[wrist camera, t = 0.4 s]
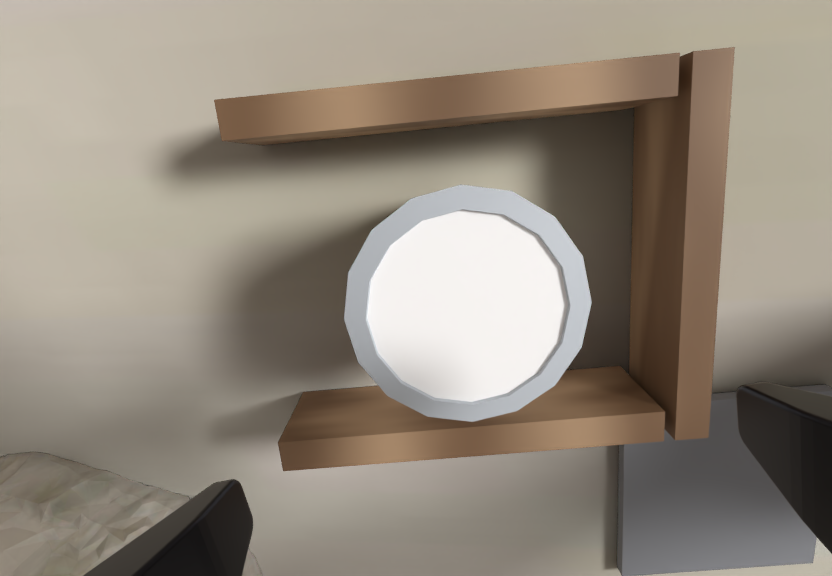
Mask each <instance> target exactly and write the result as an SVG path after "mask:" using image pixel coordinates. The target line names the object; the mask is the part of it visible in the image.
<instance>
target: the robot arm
mask: <svg viewBox="0 0 832 576" xmlns="http://www.w3.org/2000/svg"><path fill="white" fill-rule="evenodd" d="M736 401H737V418H738V430H739V434H740V437H741V439H742V441H743V443H744V444H745V446H746V447H747V448H748V450H749V451H750V452H751V454H752V455H753V456H754V458H755V459H756V460H757V462H758V463H759V464H760V466H761V467H762V468H763V470H764V471H765V472H766V474H767V475H768V476H769V478H770V479H771V480H772V482H773V483H774V484H775V486H776V487H777V488H778V490H779V491H780V492H781V494H782V495H783V496H784V498H785V499H786V500H787V502H788V503H789V504H790V506H791V507H792V508H793V509H794V511H795V512H796V513H797V515H798V516H799V517H800V518H801V520H802V521H803V522H804V523H805V524H806V525H807V527H808V528H809V529H810V530H811V531H812V532H813V533H814V535H815V536H816V537H817V538H818V539H819V540H820V541H821V542H822V543H823V544H824V546H825V547H826V548H827V549H828V550H829V551H830V552H831V553H832V396H827V395H823V394H818V393H814V392H809V391H805V390H800V389H796V388H791V387H787V386H782V385H778V384H773V383H769V382H758V383H752V384H747V385H742V386H740V387H739V388H738V389H737V393H736ZM252 530H253V518H252V514H251V511H250V508H249V505H248V503H247V500H246V497H245V494H244V491H243V489H242V486H241V484H240V483H239V481H237V480H235V479H231V480H226V481H221V482H216V483H214V484H212V485H211V486H209V487H208V488H206V489H205V490H203V491H202V492H201V493H199V494H198V495H196V496H195V497H194V498H192V499H191V500H189V501H188V502H186V503H185V504H184V505H182V506H181V507H179V508H178V509H176V510H175V511H174V512H172V513H171V514H169V515H168V516H167V517H165V518H164V519H162V520H161V521H159V522H158V523H157V524H155V525H154V526H152V527H151V528H150V529H148V530H147V531H145V532H144V533H142V534H141V535H140V536H138V537H137V538H135V539H134V540H133V541H131V542H130V543H128V544H127V545H125V546H124V547H123V548H121V549H120V550H118V551H117V552H116V553H114V554H113V555H111V556H110V557H108V558H107V559H106V560H104V561H103V562H101V563H100V564H99V565H97V566H96V567H94V568H93V569H91V570H90V571H89V572H87V573H86V574H84V575H83V576H242V574H243V570H244V565H245V561H246V557H247V552H248V548H249V544H250V539H251V535H252Z"/></svg>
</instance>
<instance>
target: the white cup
mask: <svg viewBox="0 0 832 576" xmlns="http://www.w3.org/2000/svg"><path fill="white" fill-rule="evenodd" d="M591 304H592V301H591V296H590V291H589V285H588V280H587V275H586V270H585V265H584V259H583V256H582V254H581V253H580V251H579V250H578V249H577V247H576V246H575V244H574V243H573V241H572V240H571V239H570V237H569V236H568V234H567V233H566V232H565V230H564V229H563V227H562V226H561V224H560V223H559V222H558V220H557V219H556V217H555V216H553V215H551V214H550V213H548V212H546V211H545V210H543V209H541V208H540V207H538V206H536V205H535V204H533V203H531V202H529V201H528V200H526V199H524V198H523V197H521V196H519V195H518V194H516V193H514V192H513V191H507V190H499V189H492V188H484V187H476V186H468V185H458V186H454V187H451V188H447V189H444V190H440V191H436V192H433V193H429V194H426V195H422V196H418V197H415V198H411V199H410V200H409V201H407V202H406V203H405V204H404V205H402V206H401V207H400V208H399V209H397V210H396V211H395V212H394V213H392V214H391V215H390V216H389V217H387V218H386V219H385V220H383V221H382V222H381V223H380V224H378V225H377V226H376V227H375V228H373V229H372V230H371V232H370V234H369V236H368V237H367V239H366V241H365V243H364V245H363V247H362V248H361V250H360V252H359V254H358V256H357V258H356V259H355V261H354V263H353V265H352V267H351V269H350V270H349V272H348V281H347V292H346V303H345V314H344V321H345V324H346V327H347V330H348V333H349V336H350V339H351V342H352V345H353V348H354V351H355V354H356V357H357V360H358V363H359V364H360V365H361V366H362V367H363V368H364V370H365V371H366V372H367V373H368V374H369V375H370V376H371V378H372V379H373V380H374V381H375V382H376V383H377V385H378V386H379V387H380V388H381V389H382V390H383V391H384V393H385V394H386V395H387V396H388V397H390V398H392V399H394V400H396V401H398V402H400V403H402V404H404V405H406V406H408V407H410V408H412V409H414V410H415V411H417V412H419V413H421V414H423V415H425V416H427V417H435V418H443V419H452V420H461V421H469V422H474V421H478V420H482V419H486V418H490V417H495V416H499V415H503V414H507V413H511V412H515V411H518V410H519V409H521V408H522V407H524V406H525V405H527V404H528V403H530V402H531V401H533V400H534V399H536V398H537V397H539V396H540V395H542V394H543V393H545V392H546V391H548V390H549V389H551V388H552V387H554V386H555V385H556V383H557V382H558V381H559V379H560V378H561V376H562V375H563V373H564V372H565V371H566V369H567V368H568V366H569V365H570V363H571V362H572V361H573V359H574V358H575V356H576V355H577V353H578V352H579V351H580V349H581V348H582V344H583V339H584V335H585V330H586V326H587V321H588V317H589V313H590V308H591Z"/></svg>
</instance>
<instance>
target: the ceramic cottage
mask: <svg viewBox="0 0 832 576" xmlns="http://www.w3.org/2000/svg"><path fill="white" fill-rule="evenodd" d="M189 500H190V499H189V497H188V496H185V495H181V494H177V493H172V492H170V491H167V490H164V489H161V488H157V487H154V486H146V485H143V483H141V482H135V481H132V480H129V479H126V478H124V477H122V476H120V475H117V474H114V473H112V472H109V471H106V470H99V469H94V468H91V467H89V466H86V465H83V464H80V463H78V462H74V461H70V460H66V459H62V458H59V457H56V456H53V455H50V454H47V453H39V452H28V453H20V454H7V455H6V456H5V457H4V456H2V457H0V576H83V575H84V574H86V573H87V572H89V571H90V570H91V569H93V568H94V567H96V566H97V565H99V564H100V563H101V562H103V561H104V560H106V559H107V558H108V557H110V556H111V555H113V554H114V553H116V552H117V551H118V550H120V549H121V548H123V547H124V546H125V545H127V544H128V543H130V542H131V541H133V540H134V539H135V538H137V537H138V536H140V535H141V534H142V533H144V532H145V531H147V530H148V529H150V528H151V527H152V526H154V525H155V524H157V523H158V522H159V521H161V520H162V519H164V518H165V517H167V516H168V515H169V514H171V513H172V512H174V511H175V510H176V509H178V508H179V507H181V506H182V505H184V504H185V503H186V502H188V501H189ZM242 576H262V573H261V571H260V568H259V565H258V563H257V561H256V558H255V556H254V555H253V553H252V552H251V551H250V549H249V548H248V552H247V557H246V561H245V565H244V570H243V574H242Z"/></svg>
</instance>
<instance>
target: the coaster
mask: <svg viewBox="0 0 832 576" xmlns="http://www.w3.org/2000/svg"><path fill="white" fill-rule="evenodd" d="M791 388H796V389H800V390H805V391H809V392H814V393H818V394H823V395H827V396H832V388H831V387H829V386H827V385H826V384H824V385H811V386H799V387H791ZM736 393H737V392H725V393H712V394H711V408H710V423H709V438H700V439H687V440H674V439H673V438H672V437H671V435H670V434H669V433H668V432H667V431H666V430H665V429H664V441H661V442H648V443H636V444H623V445H619V471H618V541H617V567H618V569H619V571H620V573H621V575H622V576H635V575H649V574H664V573H678V572H692V571H706V570H720V569H734V568H749V567H763V566H777V565H791V564H805V563H813V559H814V552H815V545H816V536H815V535H814V533H813V532H812V531H811V530H810V529H809V528H808V527H807V525H806V524H805V523H804V522H803V521H802V520H801V518H800V517H799V516H798V515H797V513H796V512H795V511H794V509H793V508H792V507H791V506H790V504H789V503H788V502H787V500H786V499H785V498H784V496H783V495H782V494H781V492H780V491H779V490H778V488H777V487H776V486H775V484H774V483H773V482H772V480H771V479H770V478H769V476H768V475H767V474H766V472H765V471H764V470H763V468H762V467H761V466H760V464H759V463H758V462H757V460H756V459H755V458H754V456H753V455H752V454H751V452H750V451H749V450H748V448H747V447H746V446H745V444H744V443H743V441H742V439H741V437H740V434H739V430H738V418H737V401H736Z"/></svg>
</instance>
